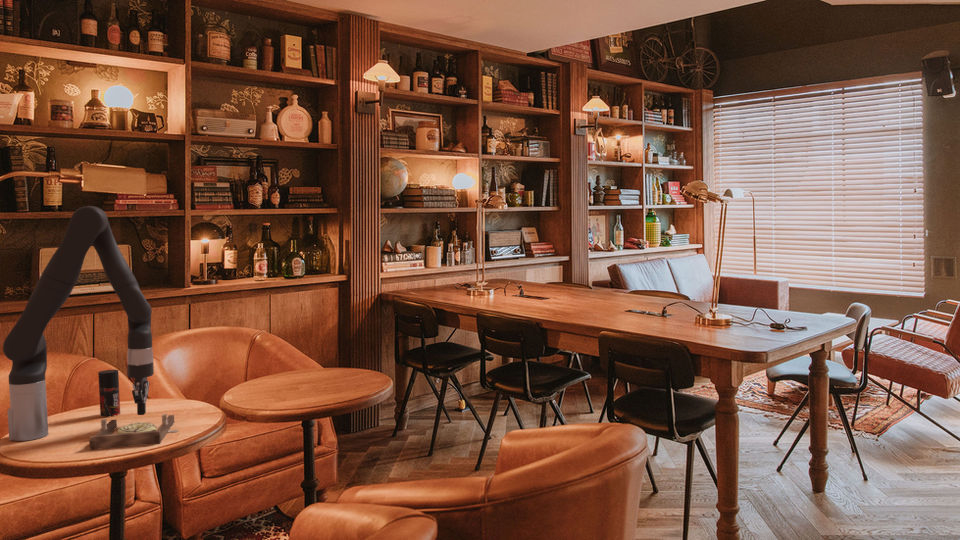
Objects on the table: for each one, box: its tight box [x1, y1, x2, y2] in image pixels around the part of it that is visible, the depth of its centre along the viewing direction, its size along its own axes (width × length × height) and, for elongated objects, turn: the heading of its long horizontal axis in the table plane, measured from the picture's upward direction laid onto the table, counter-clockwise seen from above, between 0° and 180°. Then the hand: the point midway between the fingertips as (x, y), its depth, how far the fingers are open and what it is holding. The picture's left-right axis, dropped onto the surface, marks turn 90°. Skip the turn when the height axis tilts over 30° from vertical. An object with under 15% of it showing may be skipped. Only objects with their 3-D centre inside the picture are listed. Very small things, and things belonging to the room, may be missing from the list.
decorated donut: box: [116, 422, 158, 434], centre depth 200 cm, size 10×11×4 cm
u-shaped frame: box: [89, 413, 178, 450], centre depth 202 cm, size 25×22×6 cm
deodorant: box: [97, 369, 121, 417], centre depth 225 cm, size 6×6×15 cm
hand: (141, 414), depth 213 cm, fingers closed
